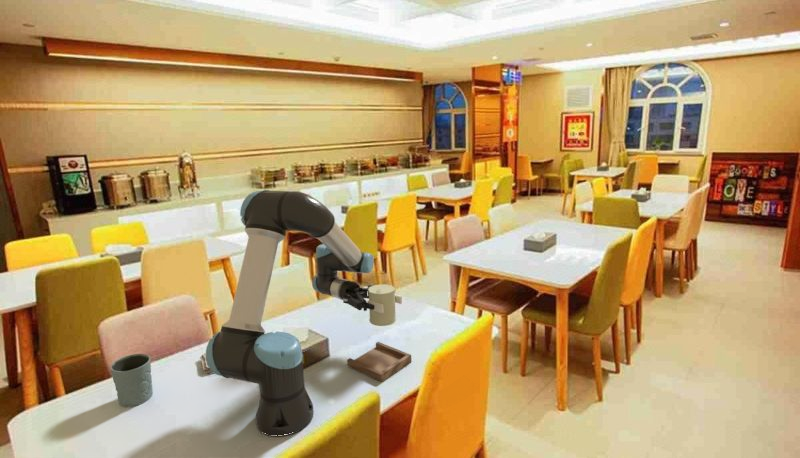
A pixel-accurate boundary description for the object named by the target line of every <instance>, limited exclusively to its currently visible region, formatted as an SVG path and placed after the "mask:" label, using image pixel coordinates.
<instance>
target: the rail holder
mask: <svg viewBox="0 0 800 458" xmlns="http://www.w3.org/2000/svg"><path fill="white" fill-rule="evenodd" d="M346 362H347V368H351V369H353V370H355V371H356V372H359V373H361V374H363V375H365V376H367V377H369V378H372V379H374V380H376V381H378V382H380V383H382V382H384V381H385V380H387V379H389V378H390V377H391V376H392V375H394V374H396V373H397V372H398V371H400V370H401V369H403V368H405V367H406V366H407V365H409V364H410V363H412V354H411V353H408V352H406V351H402V350H400V349H397V348H395V347H392V346H390V345H388V344H385V343H382V342H380V341H376V342H375V347H374V348H372V349H370V350H368V351H367V352H365V353H363V354H362V355H360V356H358V357H357V358H354V359H353V358H351V357H349V358H348V359H347V361H346Z"/></svg>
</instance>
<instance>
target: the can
mask: <svg viewBox="0 0 800 458" xmlns="http://www.w3.org/2000/svg"><path fill="white" fill-rule="evenodd" d="M368 291H369V299H368V301H373V302H376V303H379V304H382V305H383V309H384V313H380V312H377V311H374V310H370V309H368V310H369V323H370V324H371V325H373V326H377V327H386V326H390V325H393V324H394V323H396V321H397V318H396V303H395V294H396V288H395V286H393V285H391V284H381V283H380V284H374V285H371V287H370V288H369V289H368Z"/></svg>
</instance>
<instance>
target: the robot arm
mask: <svg viewBox="0 0 800 458" xmlns="http://www.w3.org/2000/svg"><path fill="white" fill-rule="evenodd" d="M239 215H240V217H241V218H240V220H241V222H242V224H243V226H245V228H244V232H245V233H246V235H247V236H248V238H247V244H246V247H245V252H244V256H243V261H242V265H241V267H240V272H239V277H238V280H237V285H236V289H235V293H234V297H233V303H232V306H231V310H230V316H229V318H228V320H227V321H226V322H224V323H223V324H222V325H221V327H220V328H221V329H220V331H218V332H216V333H215V334H213V335H212V336H211V337H212V338H210V339H209V341H208V344H207V345H206V349H205V353H206V362H207V365H208V367H209V368H210V370H211V371H212V372H213V373H212V374H214V375H216V376H219V377H223V378H225V379H233V380H234V379H235V380H239V381H242V382H249V383H253V384H257V385H258V386H259V387H258V388H259V395H260V396H259V397H260V398H259V402H258V406H257V411H256V413H255V414H256V415H255V421H256V427H257V429H258V430H259V432H260V433H262V432H263V433H266V434H268V435H267V436H269V435H277V436H276V437H279V436H278V435H284V434H289V433H292V432H296V431H298V430H300V429H301V430H303V429H305V428H306V427H308V425H309V424H310V423H311V422H312V420H313V418H314V412H315V410H314V403H313V402H312V399H311V398H310V395H309V394H308V391H307V389H306V385H305V375H304V374H305V373H304V361H303V357H304V354H303V351H302V345H301V342H300V341H299V339H298V337H296V336H295V335H294V334H292V333H289V332H285V331H275V332H273V331H270V332H266V330H265V329H264V328H263V326H262V321H263V317H264V312H265V307H266V302H267V299H268V298H267V297H268V292H269V288H270V284H271V279H272V274H273V269H274V265H275V259H276V256H277V252H278V247H279V244H280V242H282V241H284V240H285V239H286V235H287V231H289V232H290V231H291V232H292V231H293V232H302V233H305V234H308V236H309V237H311V238H314V239H318V241H320V242H321V243H322V244H319V245H318V246H317V247H315V249H316V251H315V255H316V256H315V259H316V269H317V270H316V271H317V273H316V274H315V275H314V276H313V278H312V279H313V280H312V281H311V284H312V288H313V289H314V291H316V292H318V293H319V294H321V295H326V296H330V297H332V298H336V299H339V300H341V301H343V302H342V303H343V304H347V305H350V306H351V307H353V308H354V309H357V310H358V311H361V310H363V312H367V311H368V310H369V309H370V310H374V311H377V312H380V313H384V309H383V305H382V304H379V303H376V302H373V301H369V291H368V289H369V288H370V287H371V286H372V285H370V284H369V285H367V287H366V288H365V287H364V286H360V285H359V283H357V282H355V281H352V280H349V279H345V278H341V277H338V272H345V273H346V272H347V273H356V274H370V273H371V272H372V270H373V268H374V264H375V259H374V256H373V254H372V253H370V252H362V251H361V250H360V248H359V247H358V246H357V245H356V244H355V243H354V241H353V240H352V239H351V237H349V236H348V235H347V234H346V232H344V230H343V229H342V227H341V226H339V225H338V223H337V222H336V217H335V216H334V214H333V212H331V210H330V209H329V208H328V207H327V206H325V204H323V203H322V202H321V201H319V200H318V199H317V198H315V197H313V196H311V195H309V194H307V193H305V192H301V191H296V190H292V191H290V190H289V191H288V190H270V189H269V190H268V189H264V190H263V189H262V190H255V191H252V192H251V193H249V194H248V195H247V196H245V198H244V200H243V201H242V203H241V207H240V211H239ZM366 299H368V300H366ZM395 304H399V305H402V304H403V296H402V295H399V294H396V293H395ZM370 310H369V311H370ZM265 332H266V333H265ZM302 428H303V429H302ZM301 430H300V431H301ZM298 432H299V431H298ZM263 433H262V434H263ZM296 433H297V432H296ZM266 434H265V435H266Z"/></svg>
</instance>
